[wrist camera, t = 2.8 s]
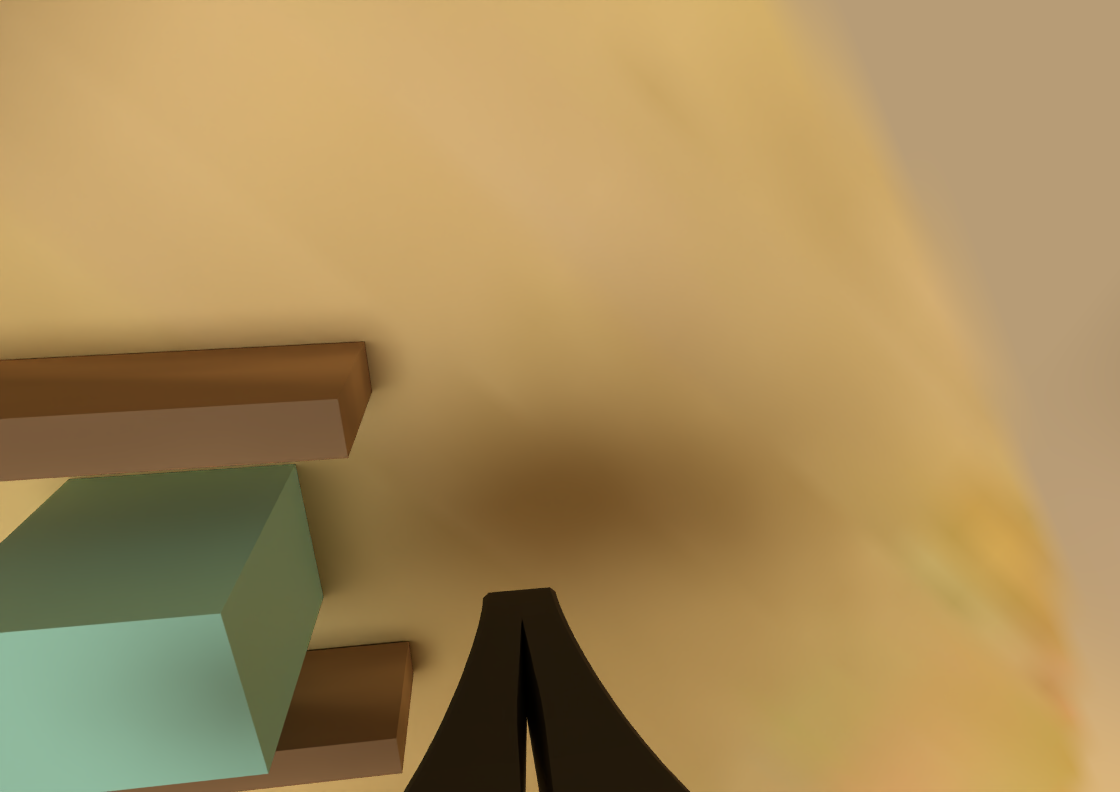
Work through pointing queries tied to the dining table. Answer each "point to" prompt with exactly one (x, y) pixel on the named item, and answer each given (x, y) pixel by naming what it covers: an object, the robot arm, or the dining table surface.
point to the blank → (153, 629)
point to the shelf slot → (212, 441)
